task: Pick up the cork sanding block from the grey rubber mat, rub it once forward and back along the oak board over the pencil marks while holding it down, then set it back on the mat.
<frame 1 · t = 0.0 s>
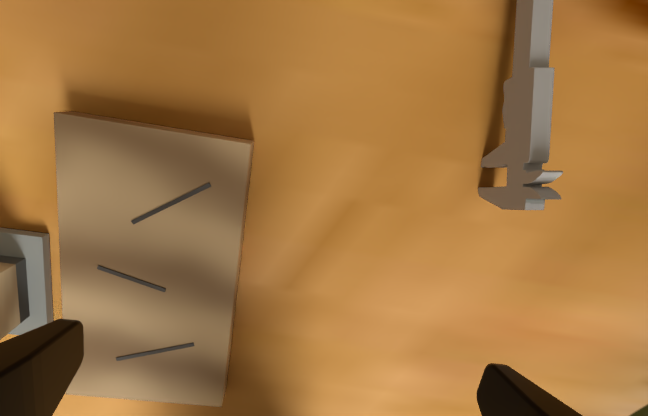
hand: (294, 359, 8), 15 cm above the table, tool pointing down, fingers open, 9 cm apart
oak board: (159, 269, 23), on the table
caliper: (506, 17, 20), on the table
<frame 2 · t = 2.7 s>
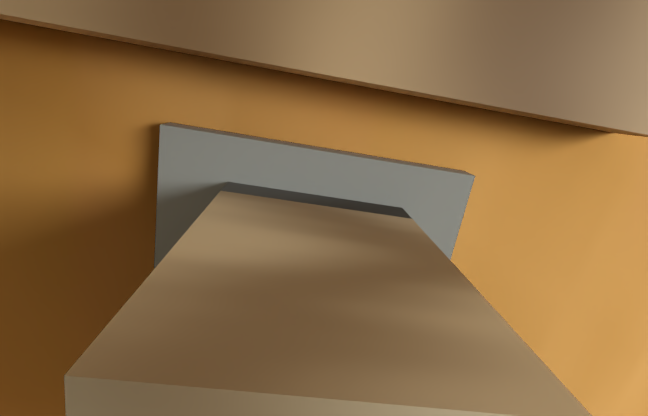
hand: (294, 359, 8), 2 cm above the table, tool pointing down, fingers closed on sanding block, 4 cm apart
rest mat: (295, 313, 10), on the table
sanding block: (294, 326, 9), point 1 cm above the table, touching gripper, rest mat
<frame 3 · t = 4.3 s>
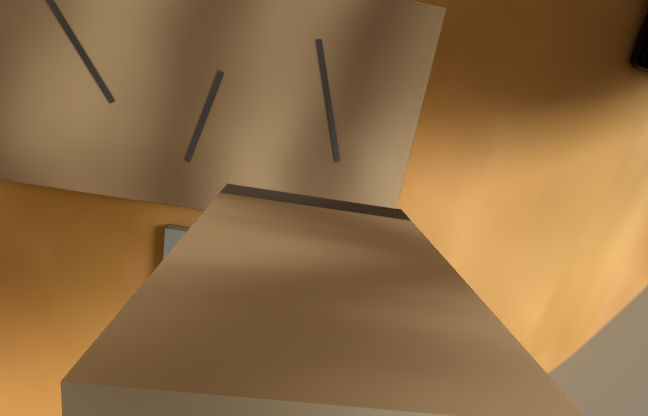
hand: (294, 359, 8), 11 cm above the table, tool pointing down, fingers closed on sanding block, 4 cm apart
oak board: (213, 93, 16), on the table
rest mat: (231, 312, 19), on the table
sanding block: (294, 328, 9), point 9 cm above the table, touching gripper
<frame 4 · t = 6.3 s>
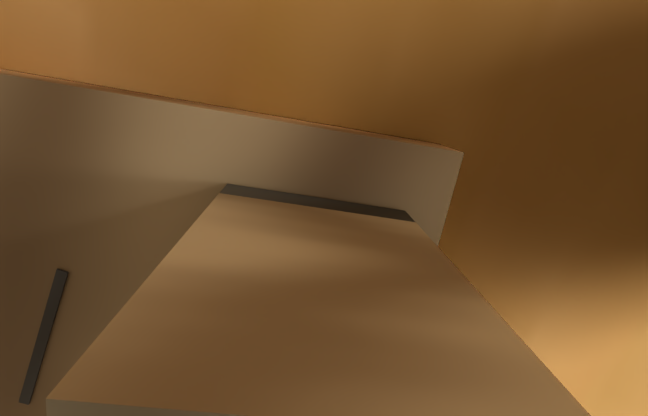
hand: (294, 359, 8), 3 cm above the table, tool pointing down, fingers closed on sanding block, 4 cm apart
oak board: (78, 273, 10), on the table
sanding block: (295, 331, 9), point 2 cm above the table, touching gripper
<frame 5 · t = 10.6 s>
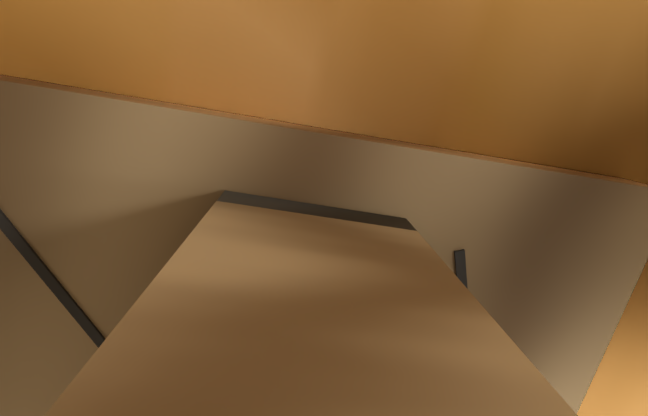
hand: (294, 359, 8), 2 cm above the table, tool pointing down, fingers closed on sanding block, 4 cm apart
oak board: (272, 301, 10), on the table
sanding block: (293, 340, 9), point 2 cm above the table, touching gripper
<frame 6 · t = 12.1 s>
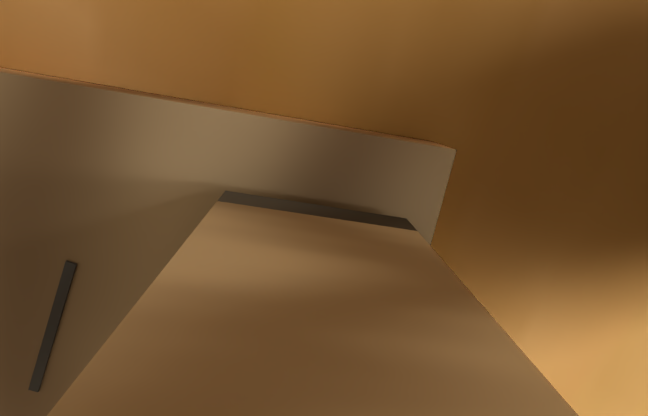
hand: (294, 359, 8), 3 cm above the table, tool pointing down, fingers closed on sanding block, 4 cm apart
oak board: (85, 266, 10), on the table
sanding block: (293, 340, 9), point 2 cm above the table, touching gripper
when the fingers open (3 cm above the table, at t = 15.4 s): sanding block drops 2 cm, resting on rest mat.
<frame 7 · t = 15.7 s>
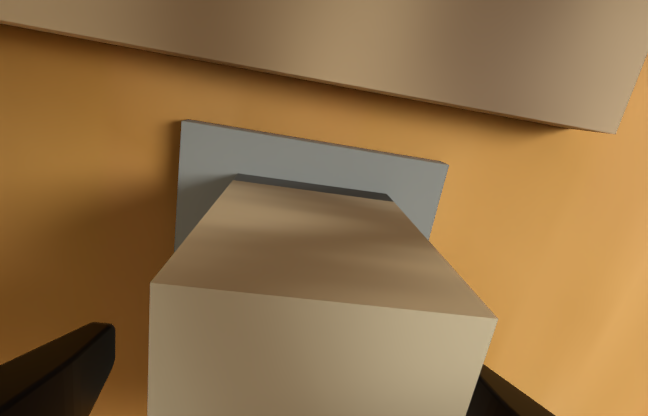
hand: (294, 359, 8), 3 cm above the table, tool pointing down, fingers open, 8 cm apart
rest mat: (295, 286, 11), on the table
sanding block: (296, 298, 11), point 1 cm above the table, touching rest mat
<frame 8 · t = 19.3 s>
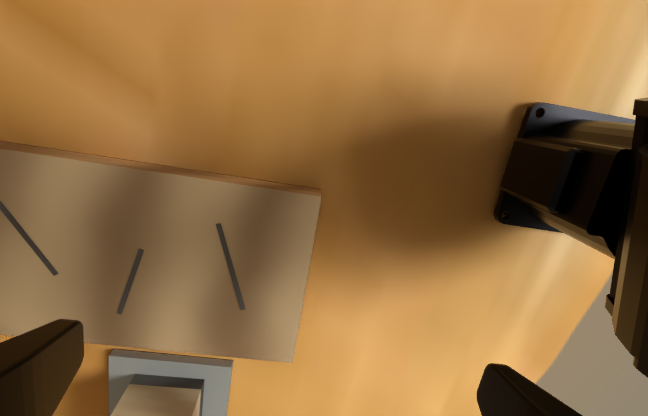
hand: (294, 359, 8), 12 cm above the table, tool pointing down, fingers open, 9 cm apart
oak board: (142, 252, 20), on the table
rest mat: (170, 413, 23), on the table
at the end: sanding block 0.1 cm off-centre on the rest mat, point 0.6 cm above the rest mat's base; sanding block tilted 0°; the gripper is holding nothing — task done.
